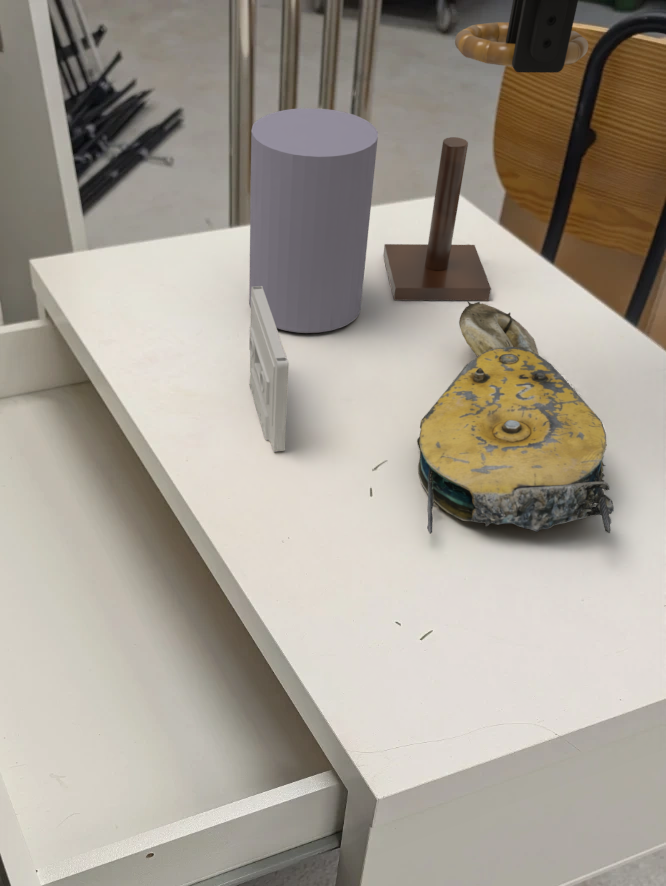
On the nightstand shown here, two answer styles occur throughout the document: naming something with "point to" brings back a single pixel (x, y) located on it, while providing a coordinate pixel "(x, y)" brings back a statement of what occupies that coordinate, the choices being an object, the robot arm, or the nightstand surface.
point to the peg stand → (439, 245)
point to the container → (311, 215)
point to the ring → (505, 44)
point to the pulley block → (511, 436)
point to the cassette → (268, 370)
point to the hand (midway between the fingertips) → (532, 62)
